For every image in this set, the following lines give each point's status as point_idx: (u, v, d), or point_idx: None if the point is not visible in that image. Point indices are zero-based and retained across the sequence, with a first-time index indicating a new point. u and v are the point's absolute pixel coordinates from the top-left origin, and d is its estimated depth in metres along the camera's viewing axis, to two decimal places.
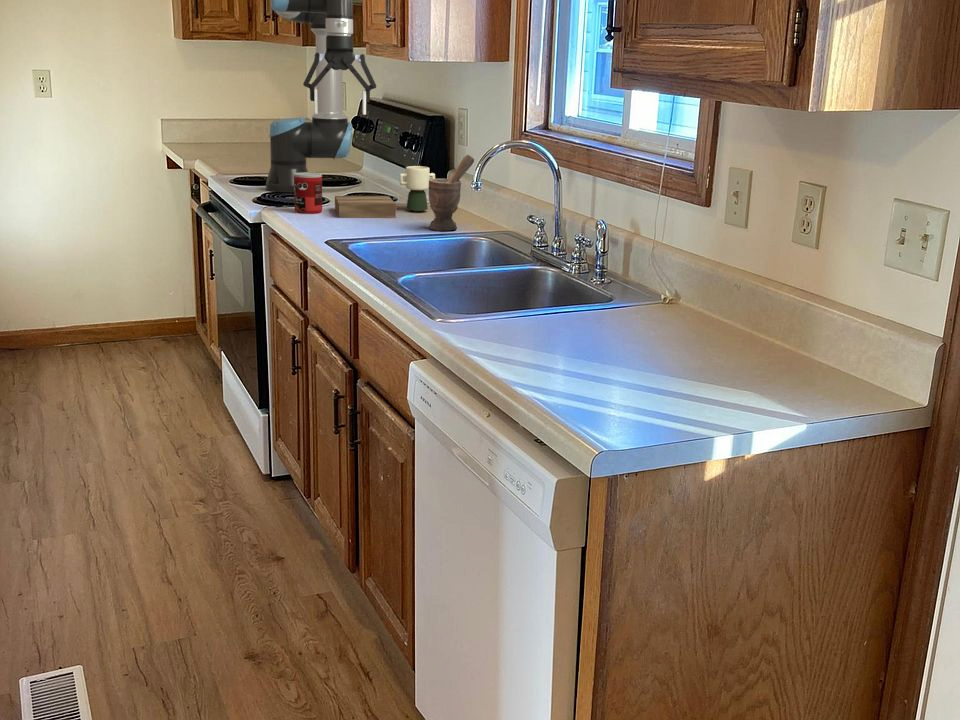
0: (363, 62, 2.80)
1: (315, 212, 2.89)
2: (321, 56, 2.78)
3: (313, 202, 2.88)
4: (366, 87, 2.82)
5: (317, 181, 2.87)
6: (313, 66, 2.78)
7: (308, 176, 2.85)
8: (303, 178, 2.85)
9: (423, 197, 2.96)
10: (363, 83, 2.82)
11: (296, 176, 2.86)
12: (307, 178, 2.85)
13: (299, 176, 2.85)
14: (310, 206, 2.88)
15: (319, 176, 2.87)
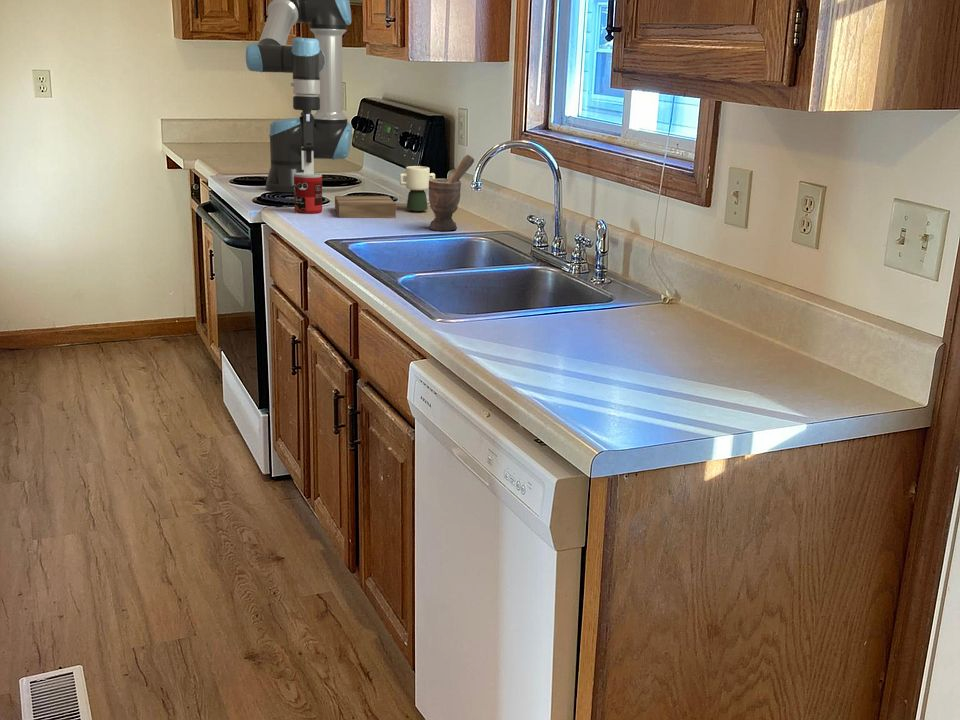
0: (303, 122, 2.78)
1: (315, 212, 2.89)
2: None
3: (313, 202, 2.88)
4: (304, 147, 2.79)
5: (317, 181, 2.87)
6: None
7: (308, 176, 2.85)
8: (303, 178, 2.85)
9: (423, 197, 2.96)
10: None
11: (296, 176, 2.86)
12: (307, 178, 2.85)
13: (299, 176, 2.85)
14: (310, 206, 2.88)
15: (319, 176, 2.87)
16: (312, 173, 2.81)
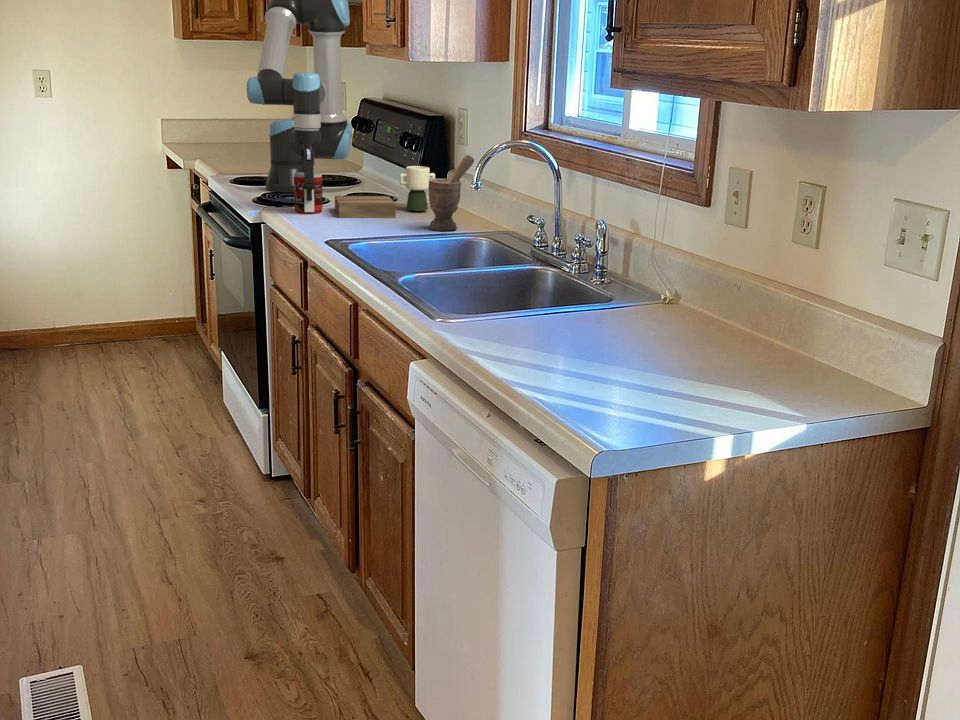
0: (304, 160, 2.81)
1: (315, 212, 2.89)
2: None
3: None
4: None
5: (317, 181, 2.87)
6: None
7: None
8: (303, 178, 2.85)
9: (423, 197, 2.96)
10: (304, 180, 2.85)
11: (296, 176, 2.86)
12: None
13: (299, 176, 2.85)
14: None
15: (319, 176, 2.87)
16: (312, 210, 2.87)
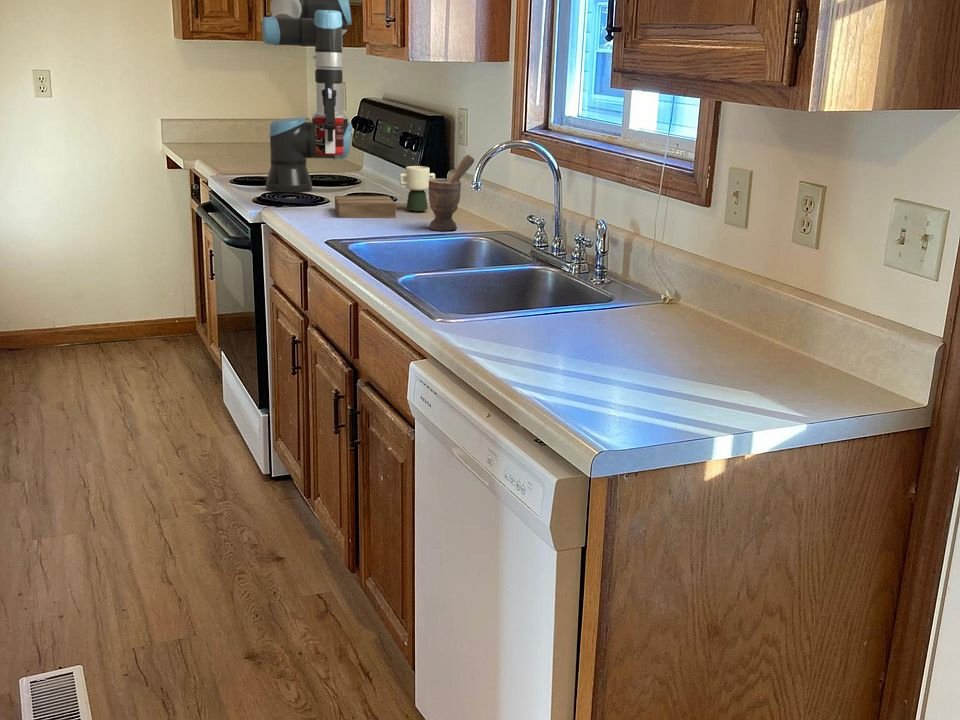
0: (325, 99, 2.76)
1: (336, 154, 2.84)
2: None
3: None
4: None
5: (338, 121, 2.82)
6: None
7: None
8: (324, 118, 2.80)
9: (423, 197, 2.96)
10: None
11: (317, 116, 2.81)
12: None
13: (320, 116, 2.80)
14: None
15: (340, 117, 2.82)
16: (333, 152, 2.82)
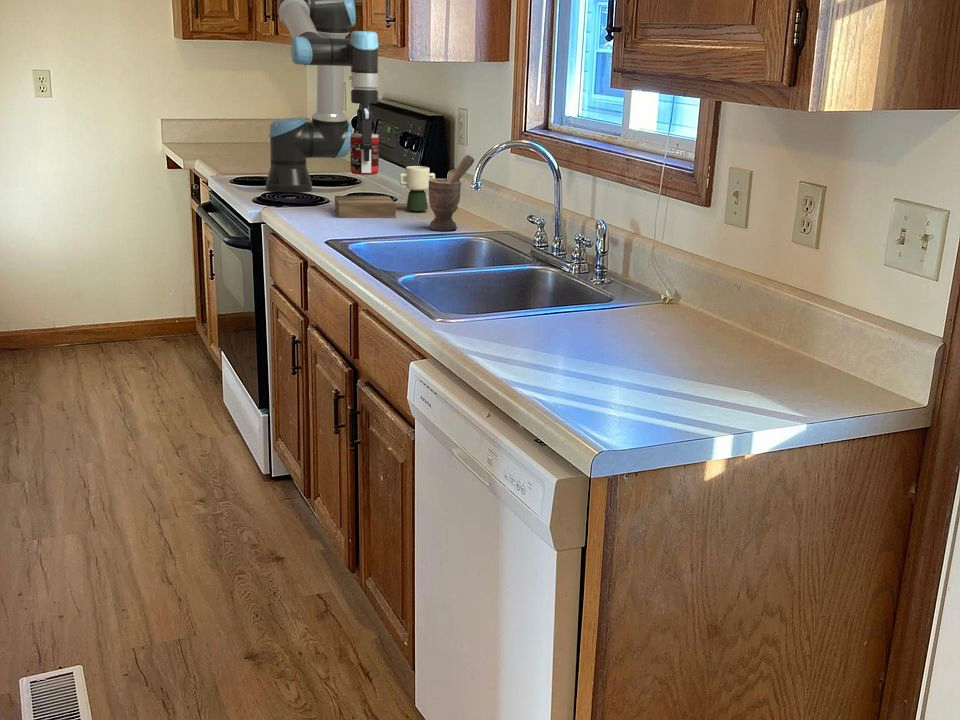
0: (362, 119, 2.78)
1: (372, 173, 2.86)
2: None
3: None
4: (362, 145, 2.82)
5: (374, 141, 2.84)
6: None
7: None
8: (360, 138, 2.82)
9: (423, 197, 2.96)
10: None
11: (353, 136, 2.83)
12: None
13: (356, 136, 2.82)
14: None
15: (376, 136, 2.84)
16: (369, 171, 2.84)
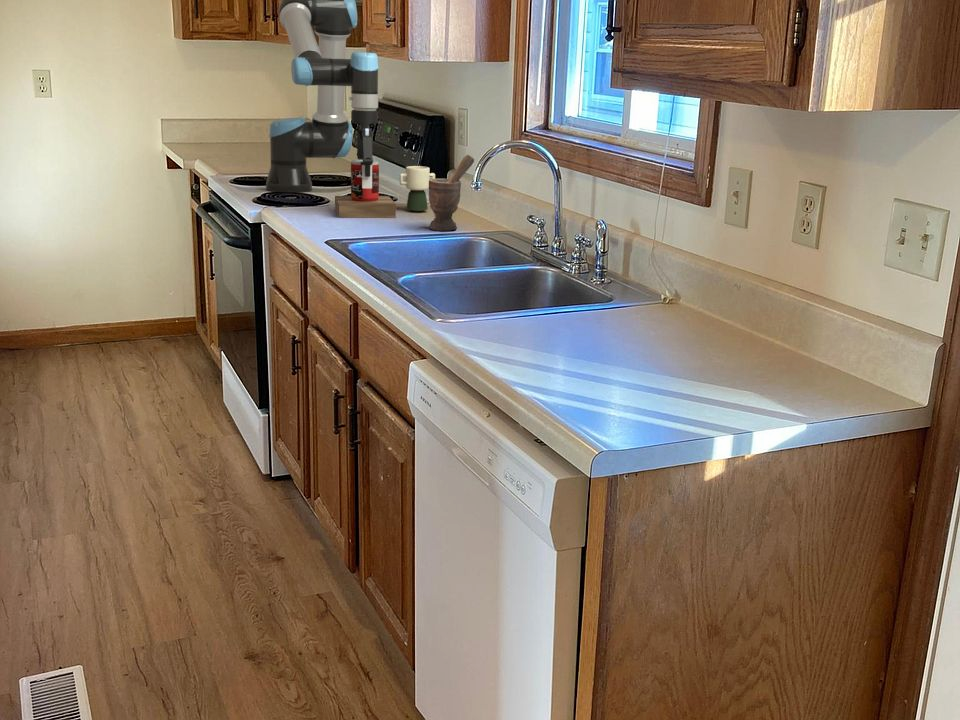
0: (362, 136, 2.79)
1: (372, 200, 2.88)
2: None
3: (370, 190, 2.86)
4: None
5: (374, 168, 2.86)
6: None
7: None
8: (361, 165, 2.84)
9: (423, 197, 2.96)
10: (362, 157, 2.81)
11: (353, 163, 2.85)
12: None
13: (357, 163, 2.84)
14: (367, 194, 2.86)
15: (376, 164, 2.86)
16: (370, 187, 2.83)
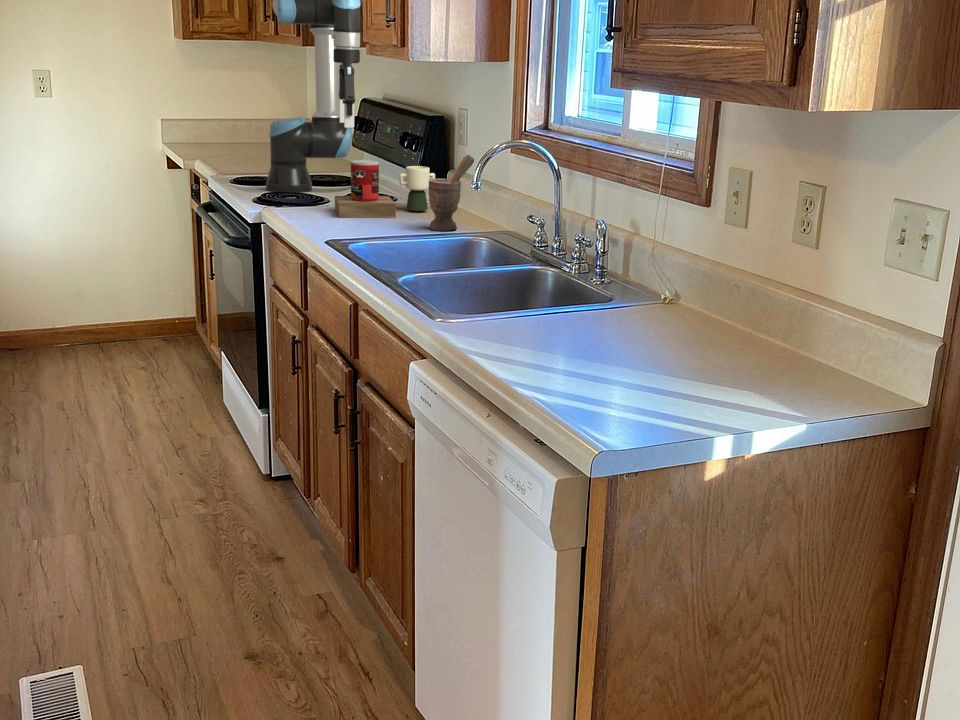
0: (344, 75, 2.80)
1: (372, 200, 2.88)
2: None
3: (370, 190, 2.86)
4: (345, 100, 2.81)
5: (374, 168, 2.85)
6: None
7: (366, 163, 2.84)
8: (361, 165, 2.84)
9: (423, 197, 2.96)
10: (344, 96, 2.82)
11: (353, 164, 2.85)
12: (365, 165, 2.84)
13: (357, 163, 2.84)
14: (367, 194, 2.86)
15: (376, 164, 2.86)
16: (352, 126, 2.84)
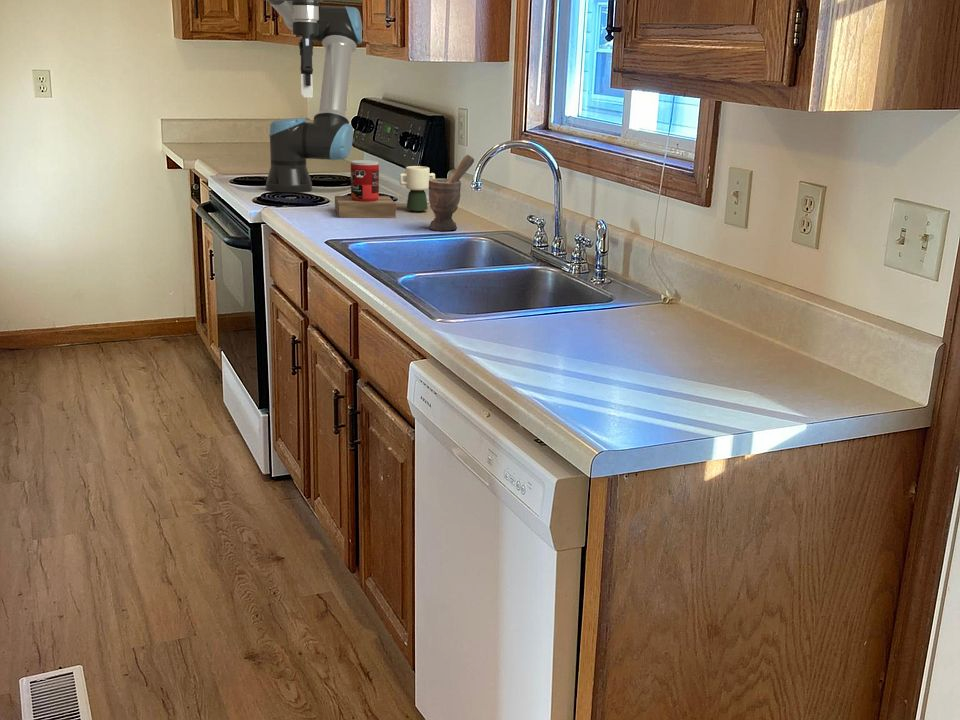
0: (302, 46, 2.89)
1: (372, 200, 2.88)
2: None
3: (370, 190, 2.86)
4: (303, 70, 2.90)
5: (374, 168, 2.85)
6: None
7: (366, 164, 2.84)
8: (361, 166, 2.84)
9: (423, 197, 2.96)
10: (303, 67, 2.91)
11: (353, 164, 2.85)
12: (365, 166, 2.84)
13: (356, 164, 2.84)
14: (367, 194, 2.86)
15: (376, 164, 2.86)
16: (311, 96, 2.93)
